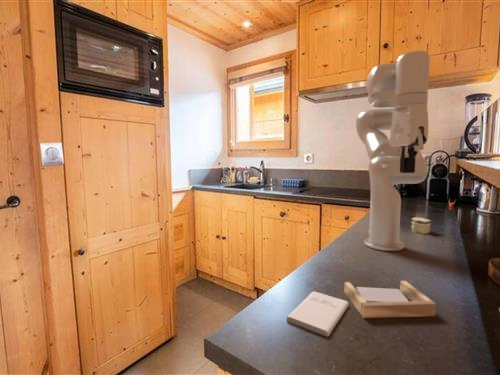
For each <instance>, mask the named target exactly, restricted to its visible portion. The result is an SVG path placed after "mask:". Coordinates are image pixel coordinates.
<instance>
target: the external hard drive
mask: <svg viewBox="0 0 500 375" xmlns="http://www.w3.org/2000/svg"><path fill="white" fill-rule="evenodd" d="M349 306H350V305H349V302H348V301H347V300H345V299H341V298H337V297H334V296H331V295H327V294H325V293H321V292H318V291H312V292H311V293H310V294H309V295H308V296H307V297H306V298H304V300H302V301H301V302H300V303H299V305H297V306H296V307H295V308H294V309H292V311H291V312H290V313H289V314H288V315H287V316H286V322H288V323H290V324H293V325H296V326H298V327H301V328H302V329H303V328H304V329H306V330H309V331H311V332H314V333H316V334H319V335H321V336H325V337H327V338H329V336H330V334H331V333H332V332H333V331H334V328H335V327H336V325H337V324H338V322H339V321H340V319H341V318H342V316H343V315H344V314H345V312H346V310H347V309H348V307H349Z"/></svg>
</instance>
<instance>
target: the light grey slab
mask: <svg viewBox="0 0 500 375" xmlns="http://www.w3.org/2000/svg"><path fill="white" fill-rule="evenodd" d="M355 289H356V290H357V291H358V293H359V294H360V295H361V296H362V297H363V298H364V299H365V301H366V302H367V303H368V302H407V301H409V300H408V297H406V296H405V295H404V294H403V293H402V292H401V291H400V288H382V287H368V286H367V287H365V286H356V287H355Z"/></svg>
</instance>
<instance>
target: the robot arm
mask: <svg viewBox="0 0 500 375" xmlns="http://www.w3.org/2000/svg"><path fill="white" fill-rule="evenodd" d="M430 57H431V56H430V54H429V52H427V51H425V50H414V51H407V52H406V53H403V54H401V55H400V56H398V58H397V60H396V62H393V63H384V64H383V63H382V64H378V65H376V66H374V67H373V68H372V69H371V70H370V72H369V74H368V76H367V80H366V92H367V94H368V95H367V100H368V103H369V104H370V105H371V106H372V107H374V108H376V109H368V110H364V111H362V112H360V113H359V114H358V115H357V116H356V121H355V125H356V126H355V127H356V132H357V135H358V137H359V139H360V141H361V142H362V143H363V145H365V149H366V152H367V157H368V158H369V160H370V161H369V163H368V174H369V175H368V176H369V182H370V183H369V185H370V200H369V201H370V204H369V206H370V207H369V229H368V231H367V233H368V237H367V238H365V239H364V242H363V243H364V245H365V246H367V247H368V248H371V249H374V250H378V251H379V250H380V251H384V252H397V251H402V250H403V249H405V244H404V242H401V241H400V229H401V228H400V227H401V206H402V198H401V194H400V192H399V191H398V190H397V189H396V188H395V186H394V185H399V184H400V185H401V184H403V185H410V184H411V185H414V184H420V183H422V182H424V181H425V180H426V178H427V176H428V166H427V161H426V160H425V158H424V156H423V155H422V153H421V151H422V150H424V145H426V143H427V142H428V139H429V138H428V137H429V113H428V112H429V111H428V98H429V96H428V95H429V81H430V79H429V78H430V63H431V62H430V61H431V60H430ZM383 131H390V133H389V138H388V136H387V135H386V133H385V132H383Z"/></svg>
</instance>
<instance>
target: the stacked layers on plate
mask: <svg viewBox="0 0 500 375" xmlns="http://www.w3.org/2000/svg"><path fill="white" fill-rule="evenodd" d="M411 220H412V221H411V226H410V228H411V232H413V233H419V234H424V235H426V234H429V233H430V230H431V229H432V228H431V227H430V225H432V223H430V222H431V221H432V220H430V219H427V218H423V217H417V216H416V217H412V218H411Z"/></svg>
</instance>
